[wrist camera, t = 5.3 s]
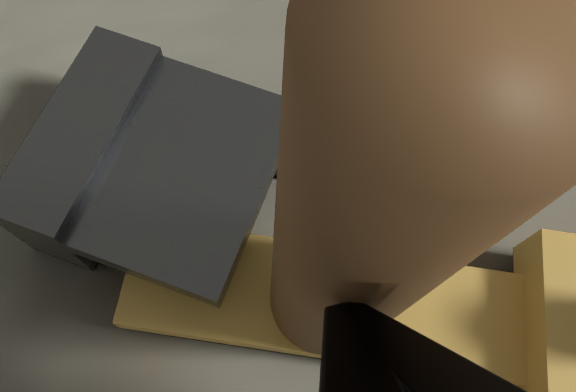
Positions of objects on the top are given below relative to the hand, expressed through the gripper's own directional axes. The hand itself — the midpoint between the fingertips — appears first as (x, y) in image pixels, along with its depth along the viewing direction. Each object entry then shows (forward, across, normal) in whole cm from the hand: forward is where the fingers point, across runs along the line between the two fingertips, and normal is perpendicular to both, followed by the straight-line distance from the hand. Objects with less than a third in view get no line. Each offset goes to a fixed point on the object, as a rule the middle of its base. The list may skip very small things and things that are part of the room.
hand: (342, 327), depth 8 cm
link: (+6, -3, +4) cm, 8 cm away
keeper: (+10, +3, +1) cm, 10 cm away
